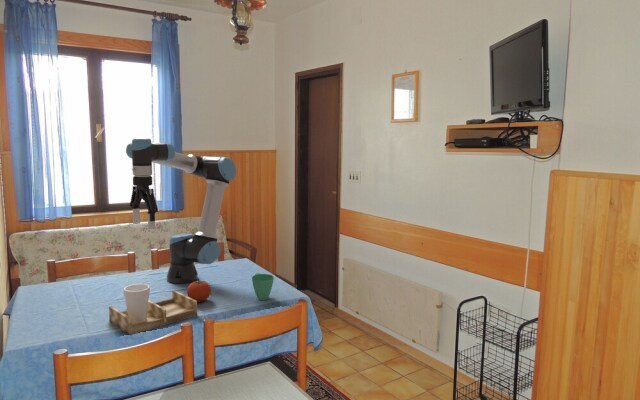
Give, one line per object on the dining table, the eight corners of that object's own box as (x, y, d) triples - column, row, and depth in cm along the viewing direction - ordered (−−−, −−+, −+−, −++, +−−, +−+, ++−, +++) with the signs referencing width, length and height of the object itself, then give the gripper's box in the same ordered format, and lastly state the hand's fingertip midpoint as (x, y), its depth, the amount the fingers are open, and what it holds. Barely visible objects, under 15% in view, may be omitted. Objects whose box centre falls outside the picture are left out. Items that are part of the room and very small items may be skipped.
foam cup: (126, 316, 181) (124, 284, 179) (150, 313, 184) (150, 282, 182) (124, 325, 172) (122, 292, 170) (150, 323, 175) (149, 290, 173)
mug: (276, 300, 206) (276, 279, 204) (255, 303, 202) (255, 281, 200) (266, 290, 219) (266, 270, 218) (246, 292, 215) (246, 272, 214)
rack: (109, 321, 179) (108, 306, 178) (174, 303, 199) (174, 290, 199) (129, 335, 167) (129, 319, 166) (197, 315, 187) (196, 301, 186)
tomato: (214, 303, 201) (213, 281, 200) (190, 307, 196) (190, 284, 194) (206, 295, 210) (206, 274, 208) (184, 299, 204) (183, 278, 203)
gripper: (120, 173, 194) (122, 222, 197) (148, 178, 177) (149, 232, 180) (137, 173, 200) (139, 220, 203) (165, 177, 183) (167, 229, 186)
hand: (144, 226), depth 191 cm, fingers open, 13 cm apart
